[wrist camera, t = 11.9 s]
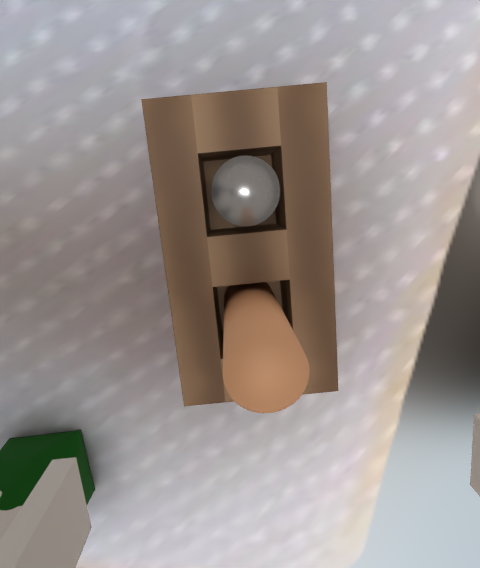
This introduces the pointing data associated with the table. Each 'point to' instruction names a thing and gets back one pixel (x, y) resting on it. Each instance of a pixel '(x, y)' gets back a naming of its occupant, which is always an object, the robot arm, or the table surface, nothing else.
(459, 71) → the table surface
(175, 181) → the hole block
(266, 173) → the steel pin
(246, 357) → the peg
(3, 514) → the milk carton
